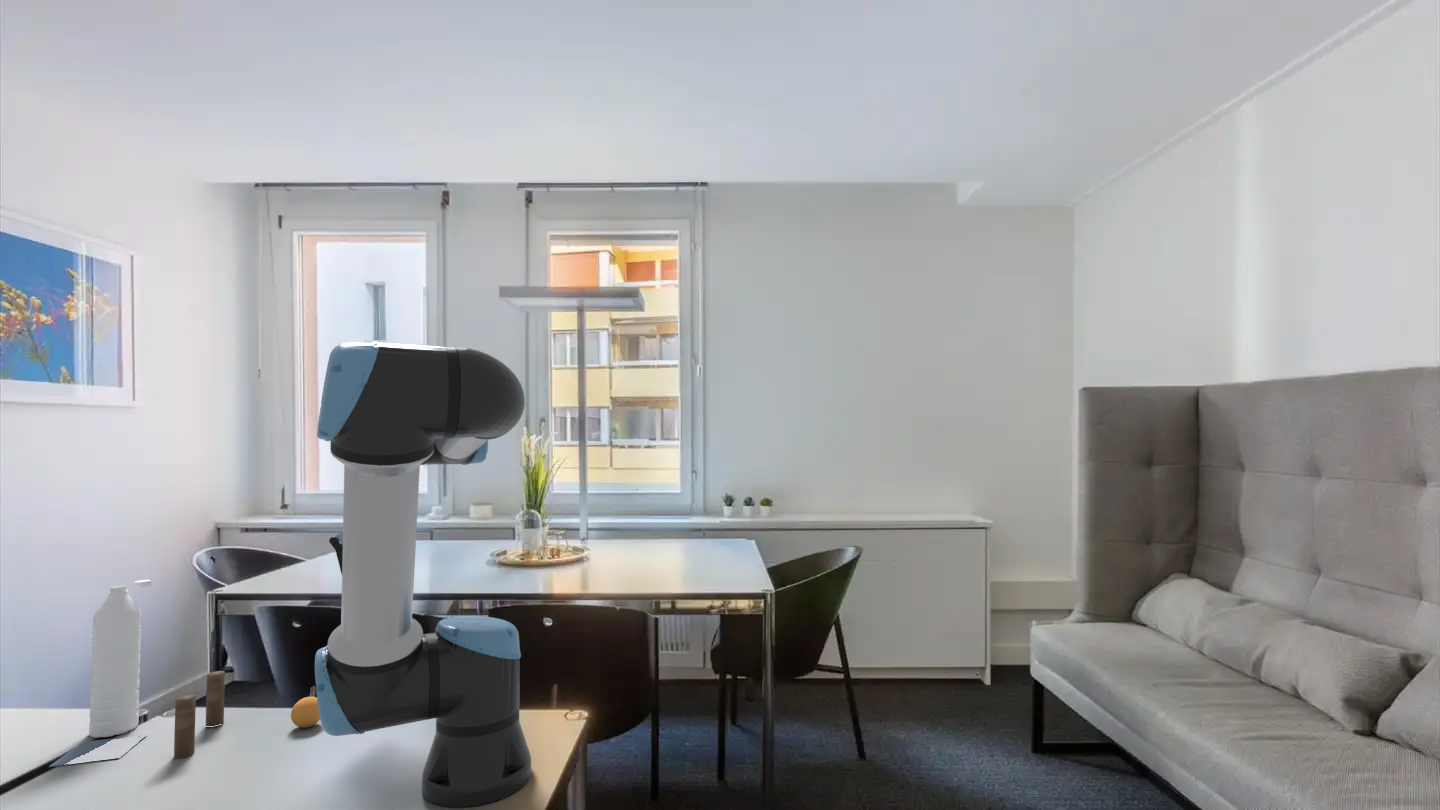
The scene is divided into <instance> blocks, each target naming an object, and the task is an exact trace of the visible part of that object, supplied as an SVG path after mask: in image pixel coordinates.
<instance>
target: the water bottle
mask: <svg viewBox="0 0 1440 810" xmlns="http://www.w3.org/2000/svg"><path fill="white" fill-rule="evenodd" d="M150 586H152V579H141V580H140V579H139V580H135V581H134V582H133V588H145V587H150ZM128 592H129V589H128V586H127V584H126V585H124V584H123V585H115V586H114V585H113V586H110V587H109V591H108V592H107V594H108V596H107V598H106V599H105V600H104V601H103V602H102V604H100V606H99V607H98V608H97V610H96V611H95V612H94V614H93V618H92V641H91V642H92V647H91V651H92V652H91V666H90V667H91V668H90V673H91V675H90V686H91V687H90V693H91V694H90V700H89V705H90V709H89V726H88V729H89V730H88V735H89V737H91V738H94V739H98V738H109V737H113V736H115V735H116V736H118V735H121V734H126V733H127V732H128V731H133V730H134V729H136V728H137V726H138V725H139V717H140V713H139V709H140V707H139V706H140V700H139V697H140V690H139V688H140V683H141V681H140V673H141V668H140V665H141V641H142V640H141V635H142V634H141V633H142V631H141V628H142V625H141V624H142V617H143V616H142V615H143V613H142V609H141V607H140V605H139V604H138V603H137V602H136V601H135V600H134V599H133V597H131V596H130V595H129V593H128ZM136 709H138V710H136ZM132 710H134V711H132Z"/></svg>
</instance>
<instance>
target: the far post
mask: <svg viewBox="0 0 1440 810" xmlns="http://www.w3.org/2000/svg"><path fill="white" fill-rule="evenodd" d="M225 679H226V672H225V670H216V671H212V672H209V673H207V674H206V693H205V694H206V696H205V700H206V701H205V727H206V726H215V725H219V724H222V723H224V721H225V684H226V683H225V681H226V680H225Z"/></svg>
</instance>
